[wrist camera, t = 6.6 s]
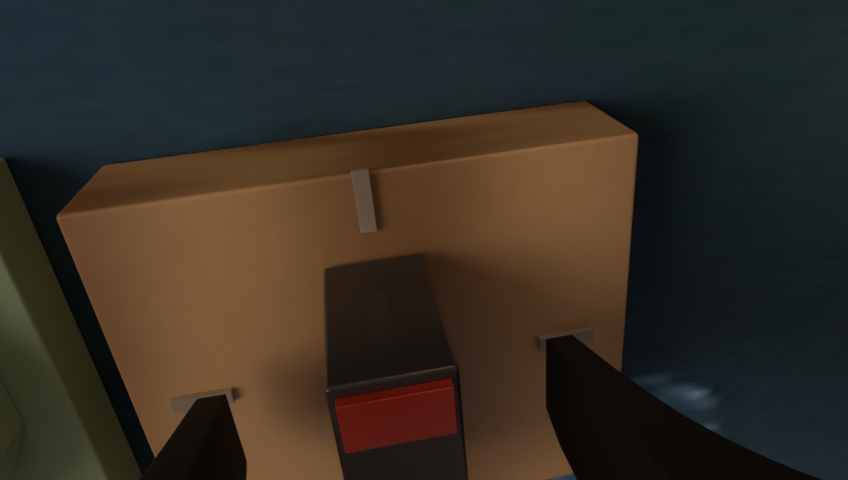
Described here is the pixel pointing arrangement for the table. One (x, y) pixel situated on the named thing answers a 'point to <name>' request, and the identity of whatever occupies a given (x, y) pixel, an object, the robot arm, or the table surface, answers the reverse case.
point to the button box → (48, 369)
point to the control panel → (357, 243)
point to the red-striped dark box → (391, 374)
